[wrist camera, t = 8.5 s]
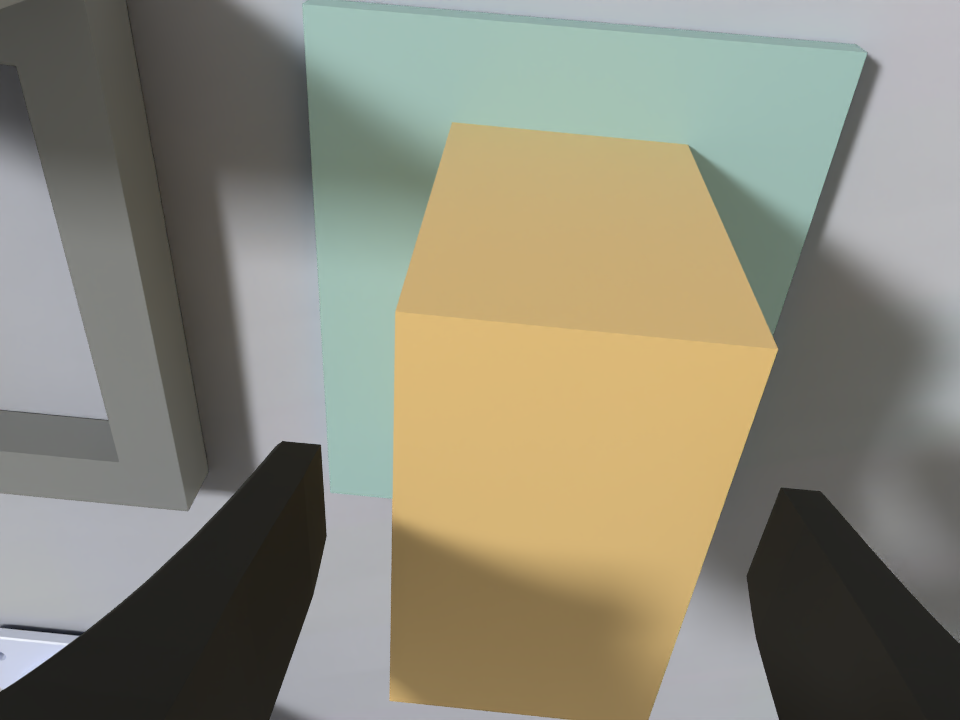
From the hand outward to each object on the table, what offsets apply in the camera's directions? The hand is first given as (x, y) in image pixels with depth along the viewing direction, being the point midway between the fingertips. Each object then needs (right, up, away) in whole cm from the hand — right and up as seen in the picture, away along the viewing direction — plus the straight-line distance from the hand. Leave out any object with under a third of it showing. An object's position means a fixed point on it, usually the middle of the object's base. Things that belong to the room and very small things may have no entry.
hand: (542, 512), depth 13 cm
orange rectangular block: (0, +3, +5) cm, 6 cm away
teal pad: (0, +4, +5) cm, 7 cm away
